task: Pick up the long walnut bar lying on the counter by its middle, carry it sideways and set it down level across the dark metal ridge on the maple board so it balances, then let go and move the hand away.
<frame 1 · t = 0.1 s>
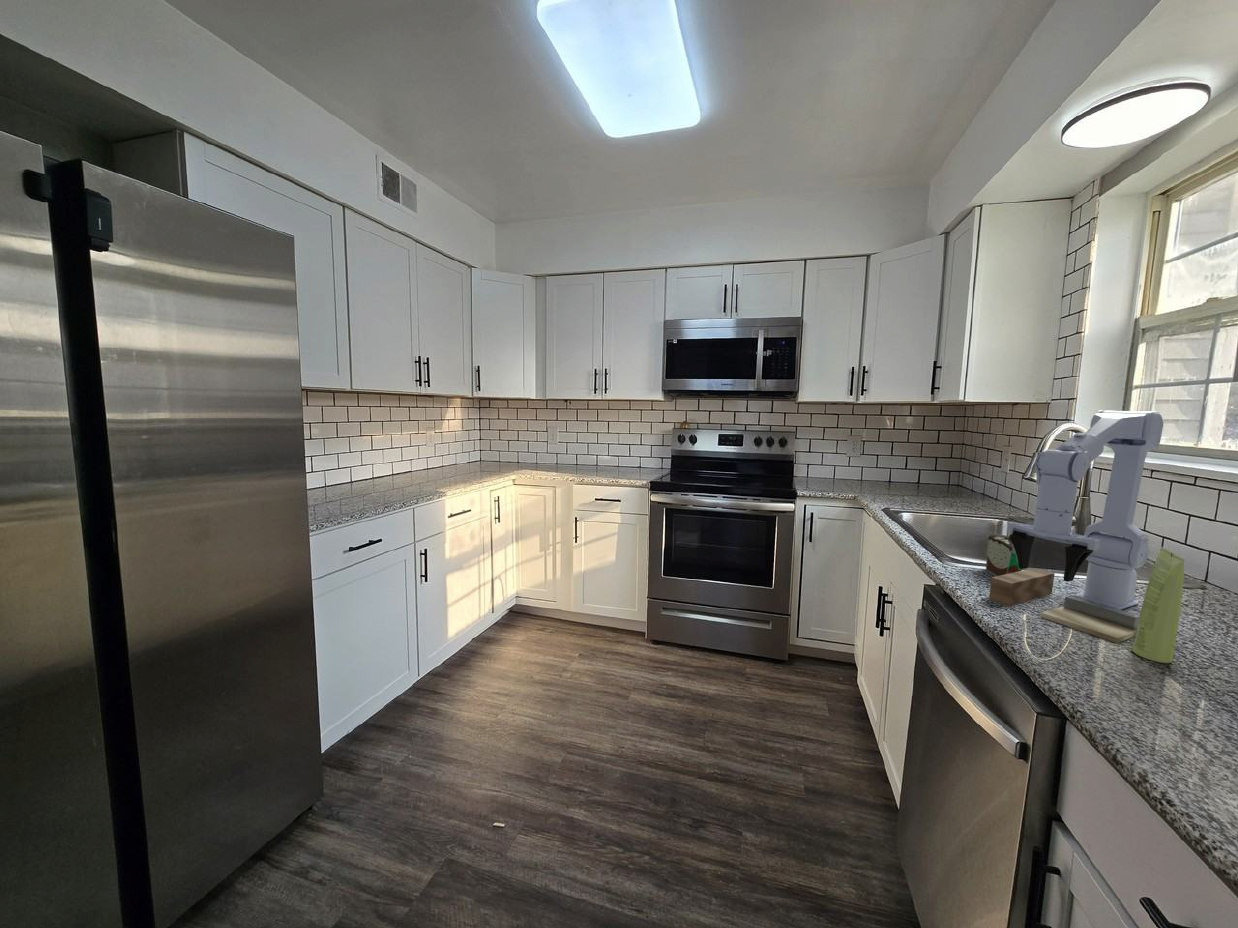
hand: (1045, 574, 99), 10 cm above the countertop, tool pointing down, fingers open, 7 cm apart
food container: (1008, 577, 127), on the countertop
balance stand: (1098, 621, 101), on the countertop
walnut bar: (1020, 597, 113), on the countertop
tube: (1151, 658, 87), on the countertop
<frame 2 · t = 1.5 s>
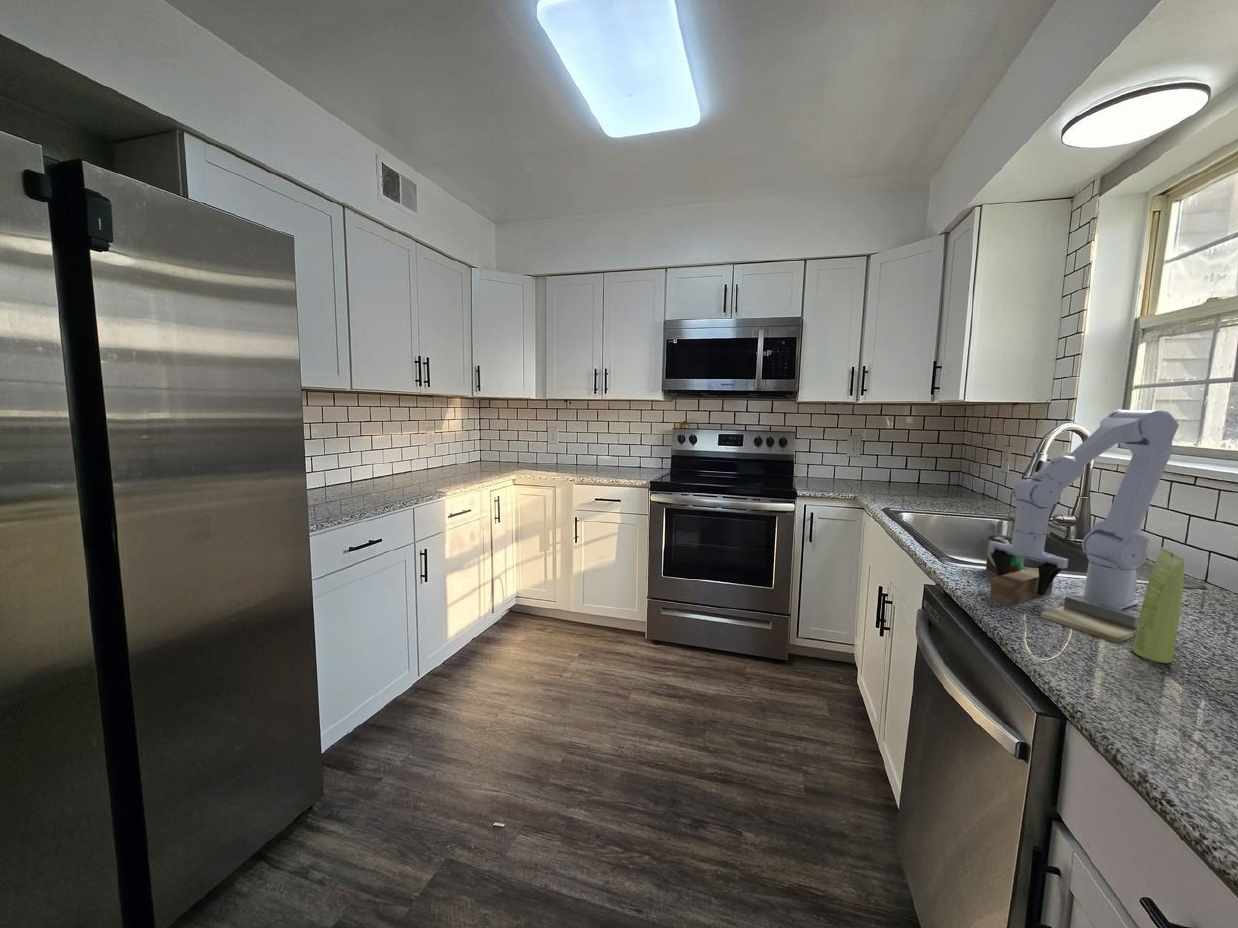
hand: (1021, 588, 113), 2 cm above the countertop, tool pointing down, fingers open, 7 cm apart
nothing on the countertop moved.
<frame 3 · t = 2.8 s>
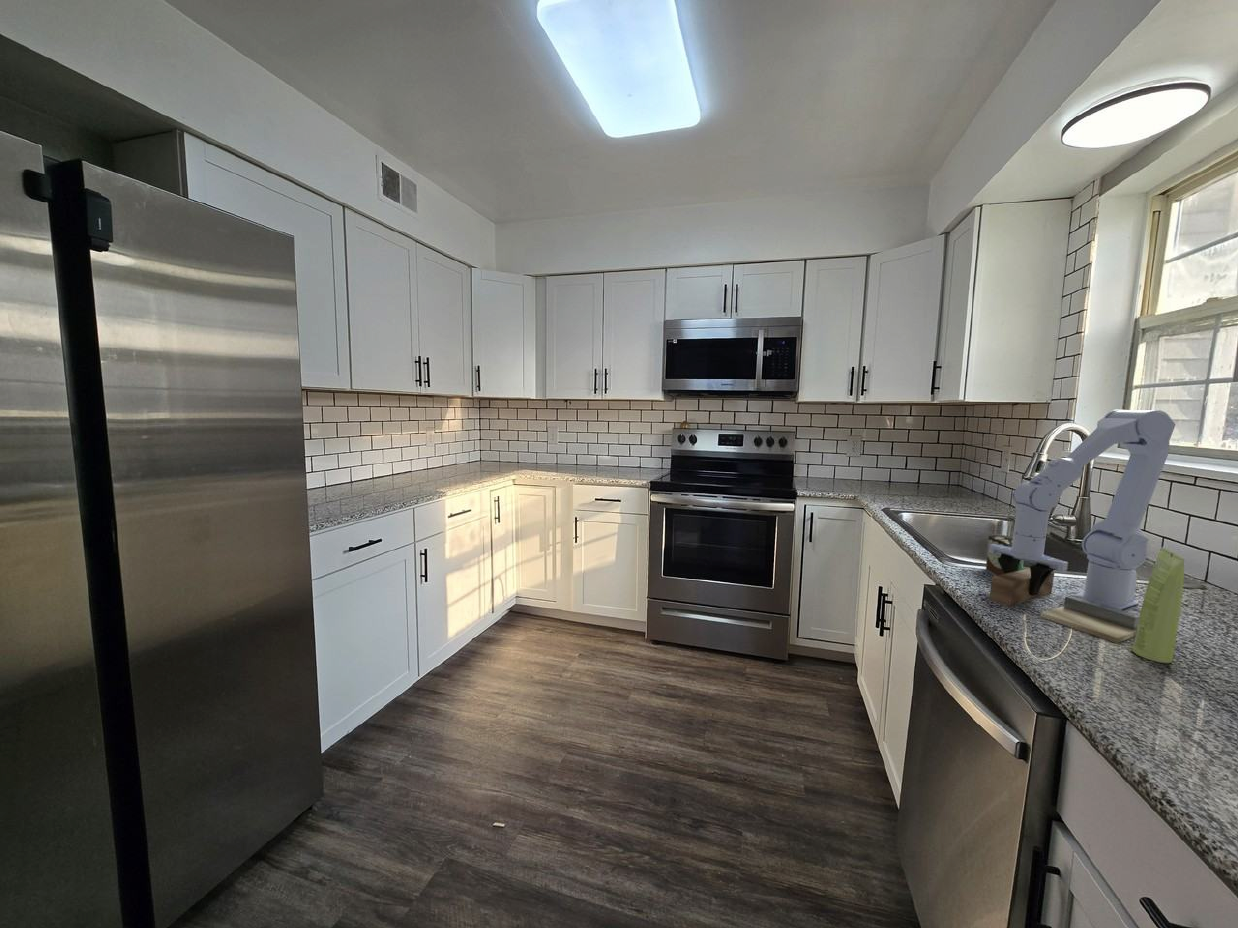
hand: (1021, 590, 113), 1 cm above the countertop, tool pointing down, fingers closed on walnut bar, 4 cm apart
walnut bar: (1020, 597, 113), on the countertop, touching gripper
everything else where it was.
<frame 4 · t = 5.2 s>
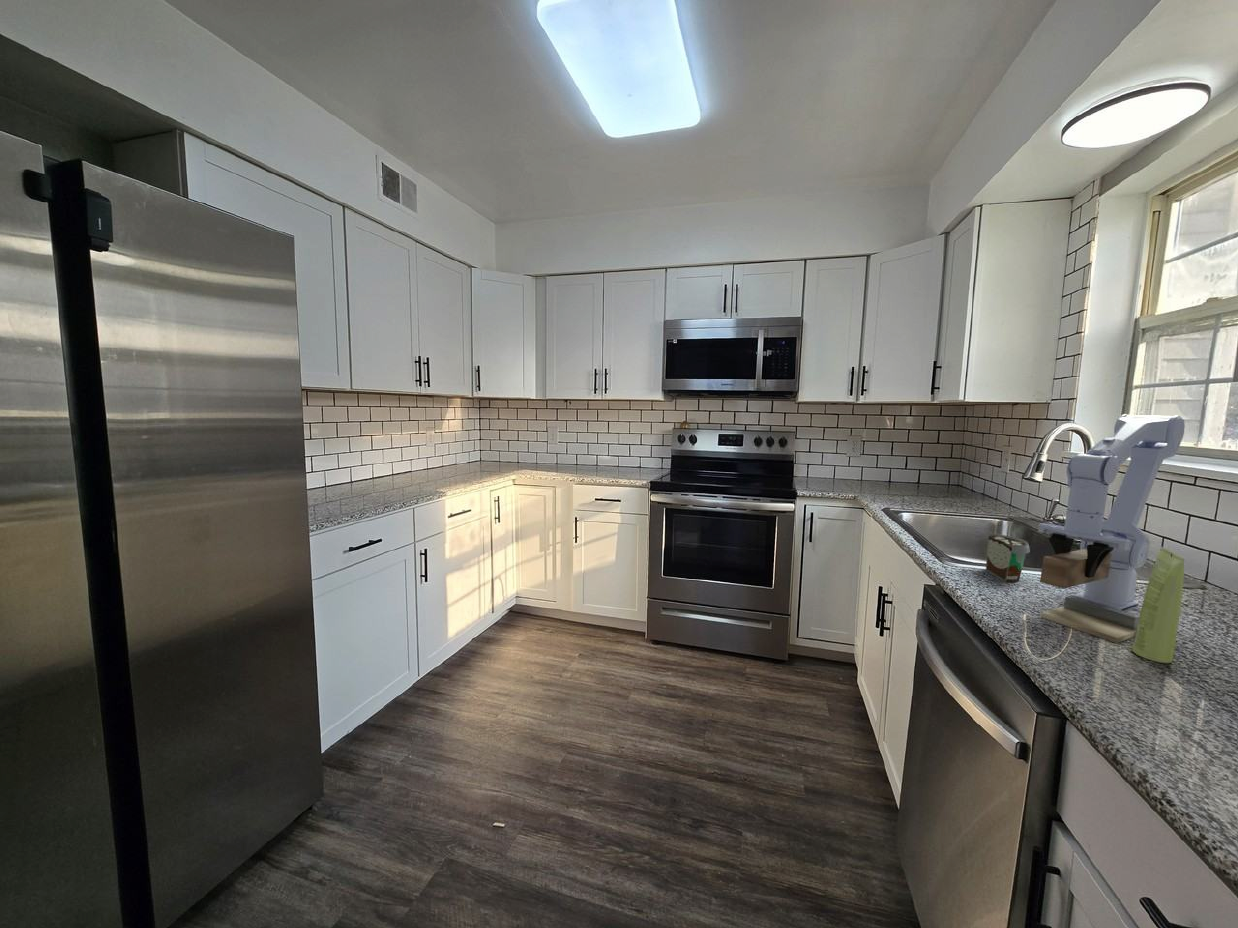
hand: (1075, 573, 104), 9 cm above the countertop, tool pointing down, fingers closed on walnut bar, 4 cm apart
walnut bar: (1074, 579, 104), point 7 cm above the countertop, touching gripper
everything else where it was.
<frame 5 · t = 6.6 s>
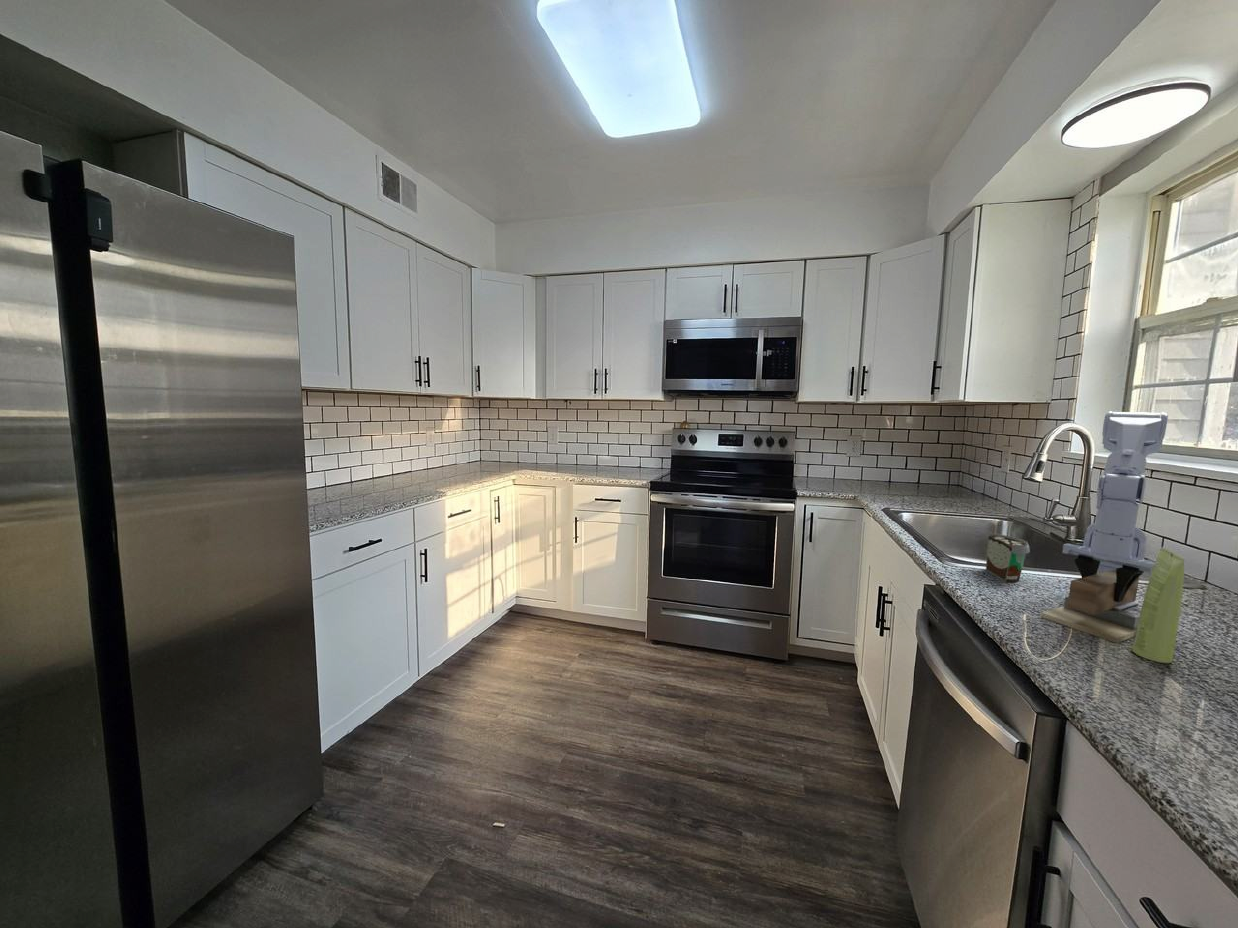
hand: (1103, 596, 100), 6 cm above the countertop, tool pointing down, fingers closed on walnut bar, 4 cm apart
walnut bar: (1101, 603, 100), point 4 cm above the countertop, touching gripper
everything else where it was.
when the fingers open (6 cm above the countertop, at t = 7.6 s): walnut bar stays where it is, resting on balance stand.
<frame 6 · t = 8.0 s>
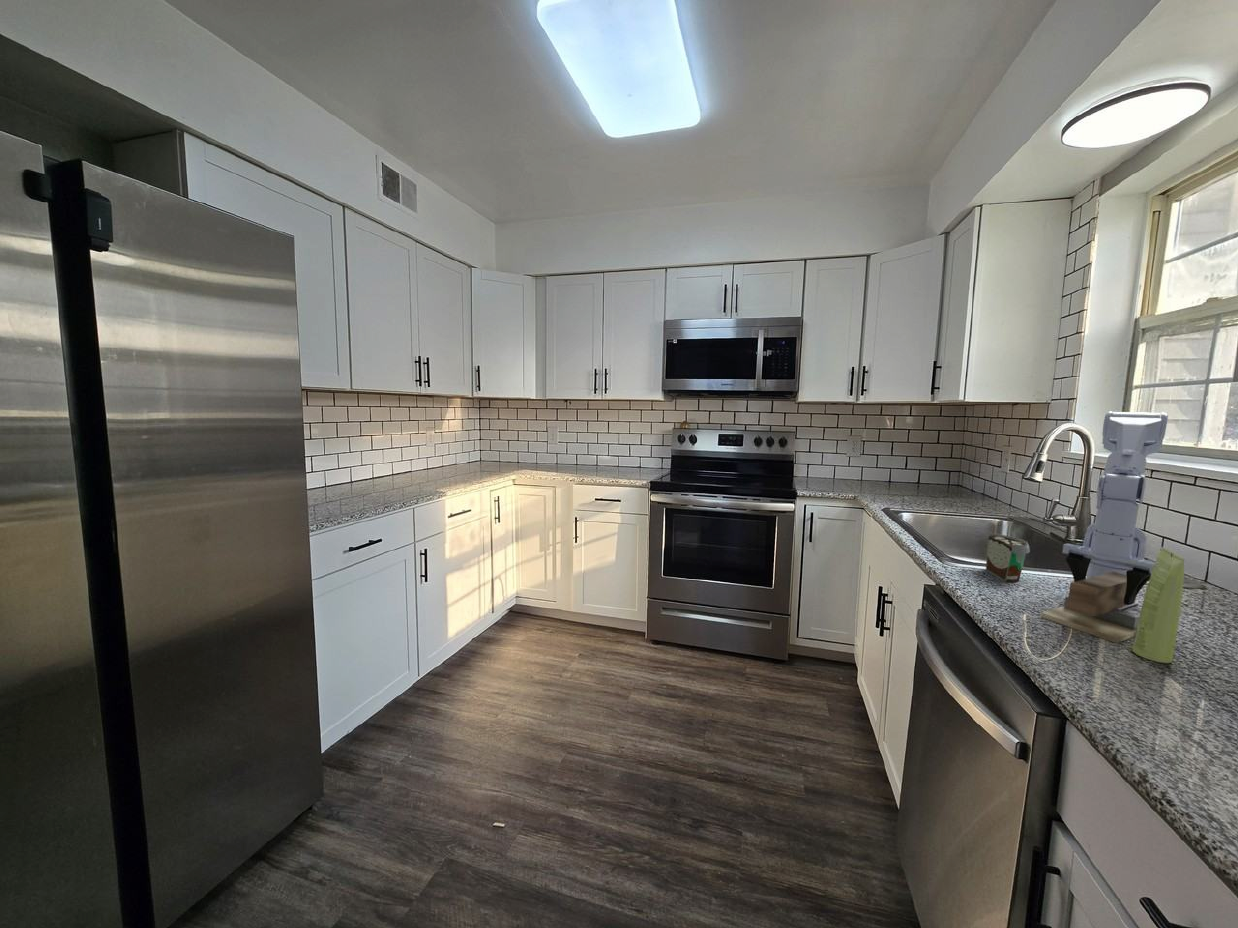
hand: (1103, 596, 100), 6 cm above the countertop, tool pointing down, fingers open, 7 cm apart
walnut bar: (1101, 605, 100), point 3 cm above the countertop, touching balance stand
everything else where it was.
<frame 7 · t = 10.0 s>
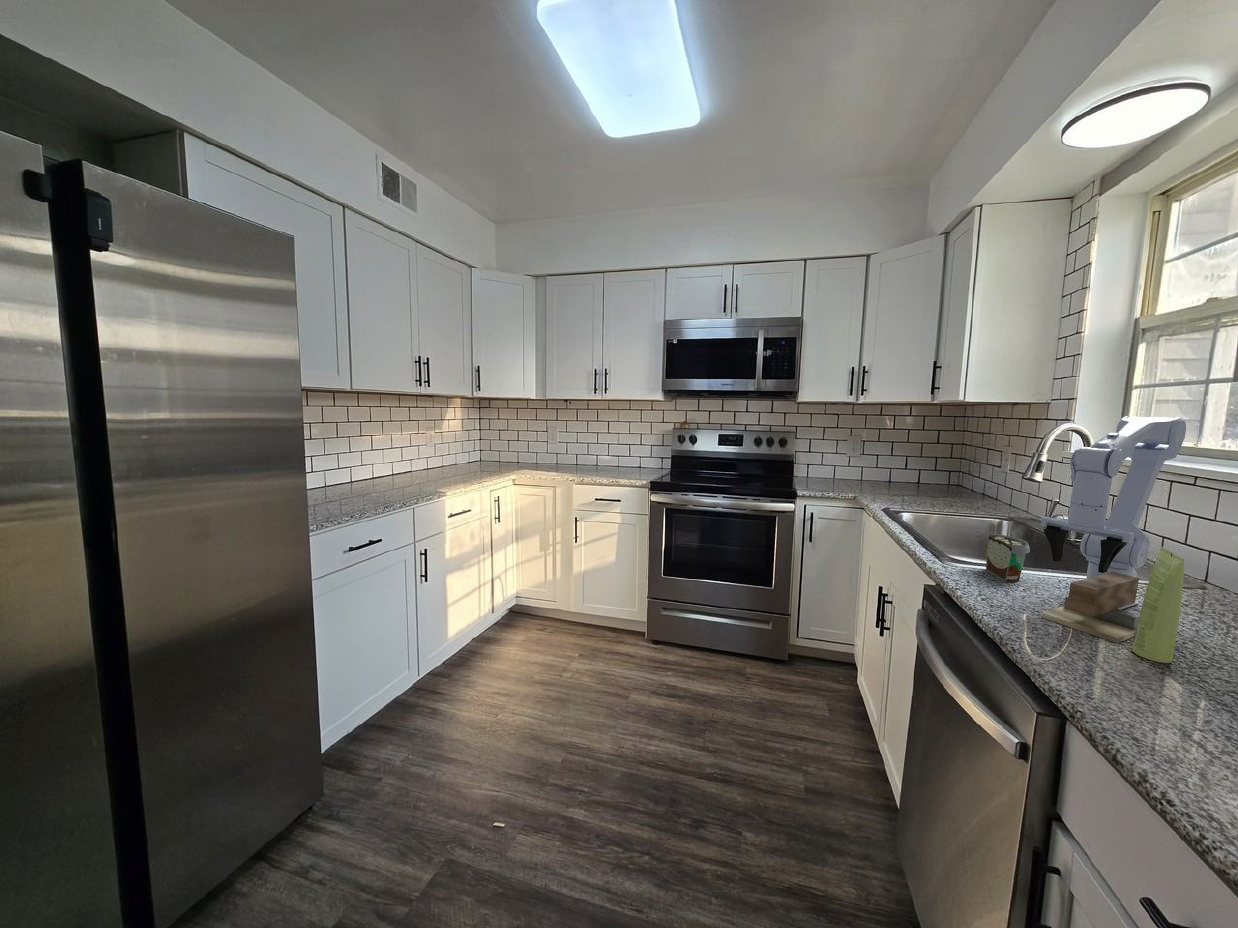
hand: (1078, 566, 104), 10 cm above the countertop, tool pointing down, fingers open, 7 cm apart
nothing on the countertop moved.
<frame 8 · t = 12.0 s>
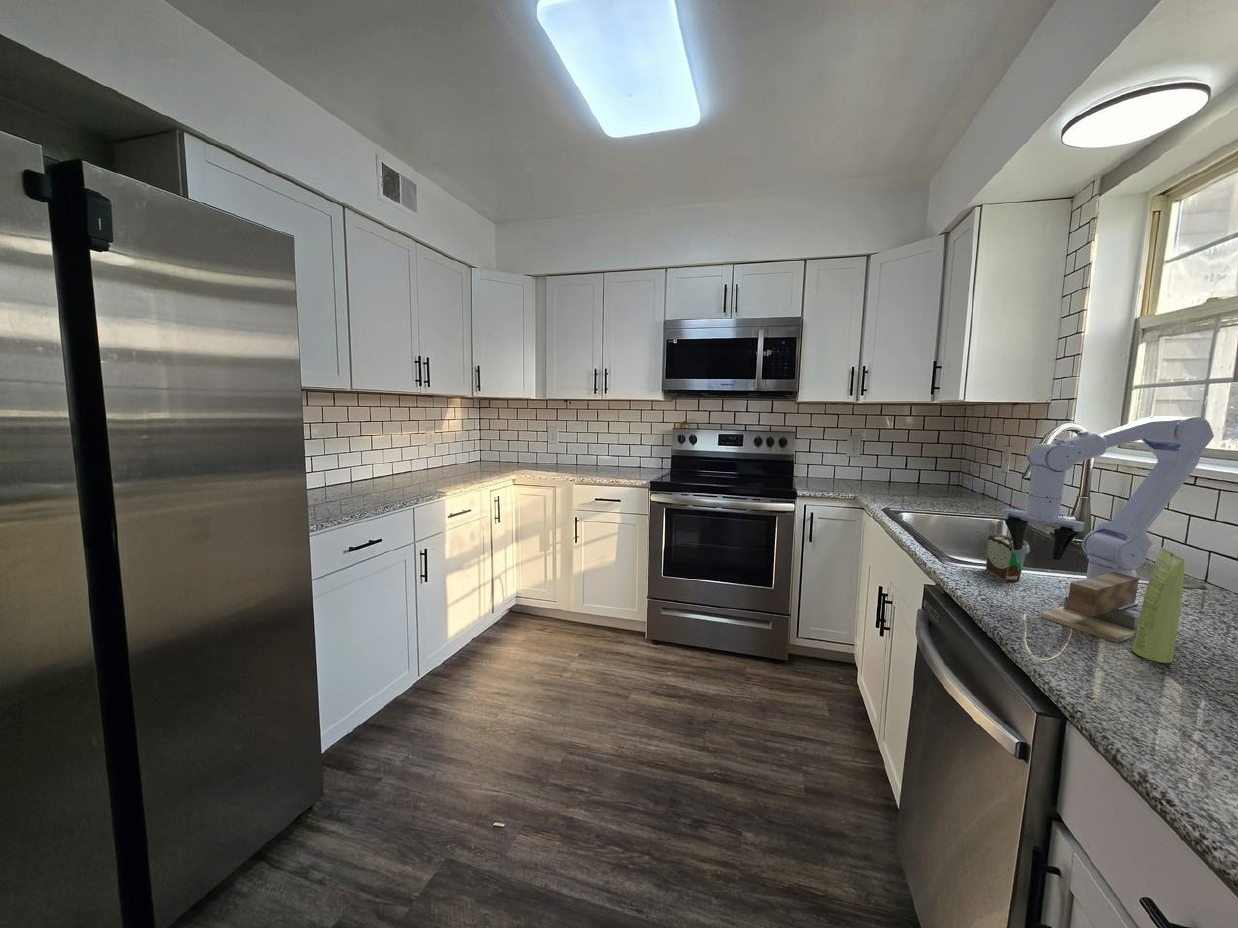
hand: (1036, 554, 112), 10 cm above the countertop, tool pointing down, fingers open, 7 cm apart
nothing on the countertop moved.
at the end: walnut bar 0.0 cm off-centre on the balance stand, point 3.5 cm above the balance stand's base; walnut bar tilted 0°; walnut bar touching balance stand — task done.
